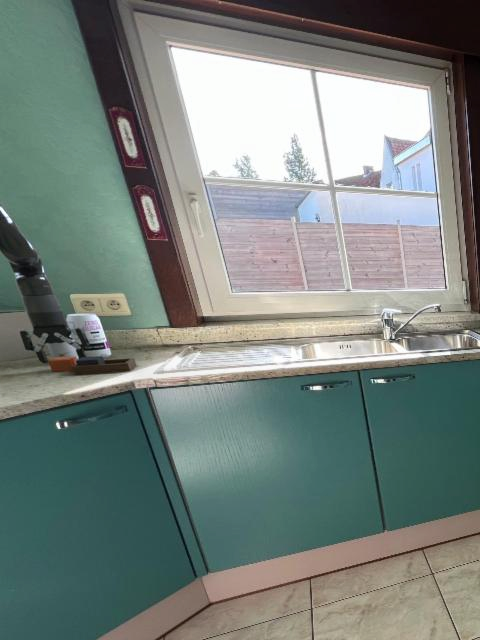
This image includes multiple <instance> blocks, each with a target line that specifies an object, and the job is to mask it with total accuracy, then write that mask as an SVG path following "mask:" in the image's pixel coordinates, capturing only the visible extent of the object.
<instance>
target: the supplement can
mask: <svg viewBox="0 0 480 640" xmlns="http://www.w3.org/2000/svg"><path fill="white" fill-rule="evenodd" d="M65 320H66V323H67V326H68V327H69V328H70V329H76V328H83V330H84V332H85V334H86V337H87V339H88V341H89V343H90V345H89V346H87V347H85V348H84V352H85V354H86V357H95V356H103V359H107V358H109V357H111V355H112V352H111V349H110V346H109V343H108V339H107V337H106V334H105V331H104V327H103V325H102V322H101V319H100V318H99V317H98V316H97V314H96V313H91V312H90V313H86V312H85V313H83V312H82V313H69V314H66V318H65ZM71 337H72V338H73V339H75V340H76V341H77V342H78V343H80V344H82V343H81V341H80V339H79V337H78V335H75V334H74V333H73V332H72V333H71Z"/></svg>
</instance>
